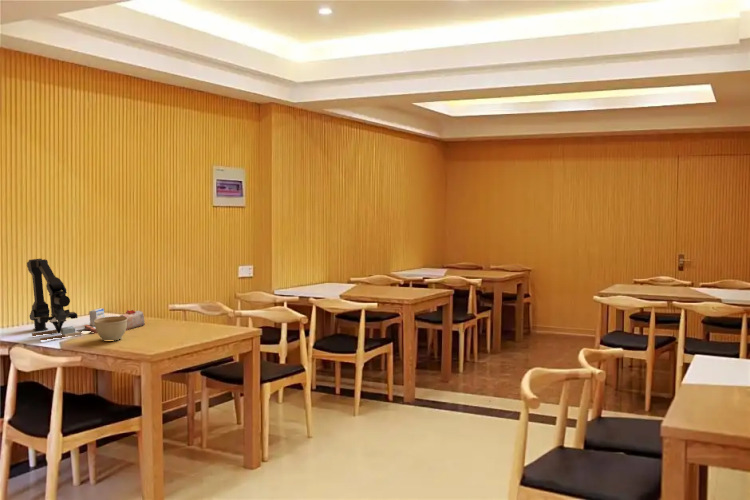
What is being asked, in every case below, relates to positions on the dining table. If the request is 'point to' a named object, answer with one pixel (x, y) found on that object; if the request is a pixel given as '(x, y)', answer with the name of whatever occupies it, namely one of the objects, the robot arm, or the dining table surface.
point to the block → (67, 330)
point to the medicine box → (96, 315)
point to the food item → (134, 319)
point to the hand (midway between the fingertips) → (58, 333)
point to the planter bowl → (111, 327)
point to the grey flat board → (87, 328)
